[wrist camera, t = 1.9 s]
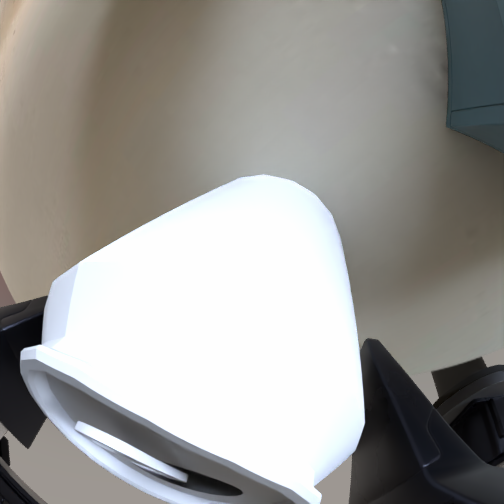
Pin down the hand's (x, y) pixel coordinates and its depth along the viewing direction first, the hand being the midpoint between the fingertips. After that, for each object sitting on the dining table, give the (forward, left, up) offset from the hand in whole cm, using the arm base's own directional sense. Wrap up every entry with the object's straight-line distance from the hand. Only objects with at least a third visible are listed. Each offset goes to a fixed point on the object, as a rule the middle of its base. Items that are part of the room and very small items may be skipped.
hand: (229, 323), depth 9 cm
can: (0, 0, -6) cm, 6 cm away
